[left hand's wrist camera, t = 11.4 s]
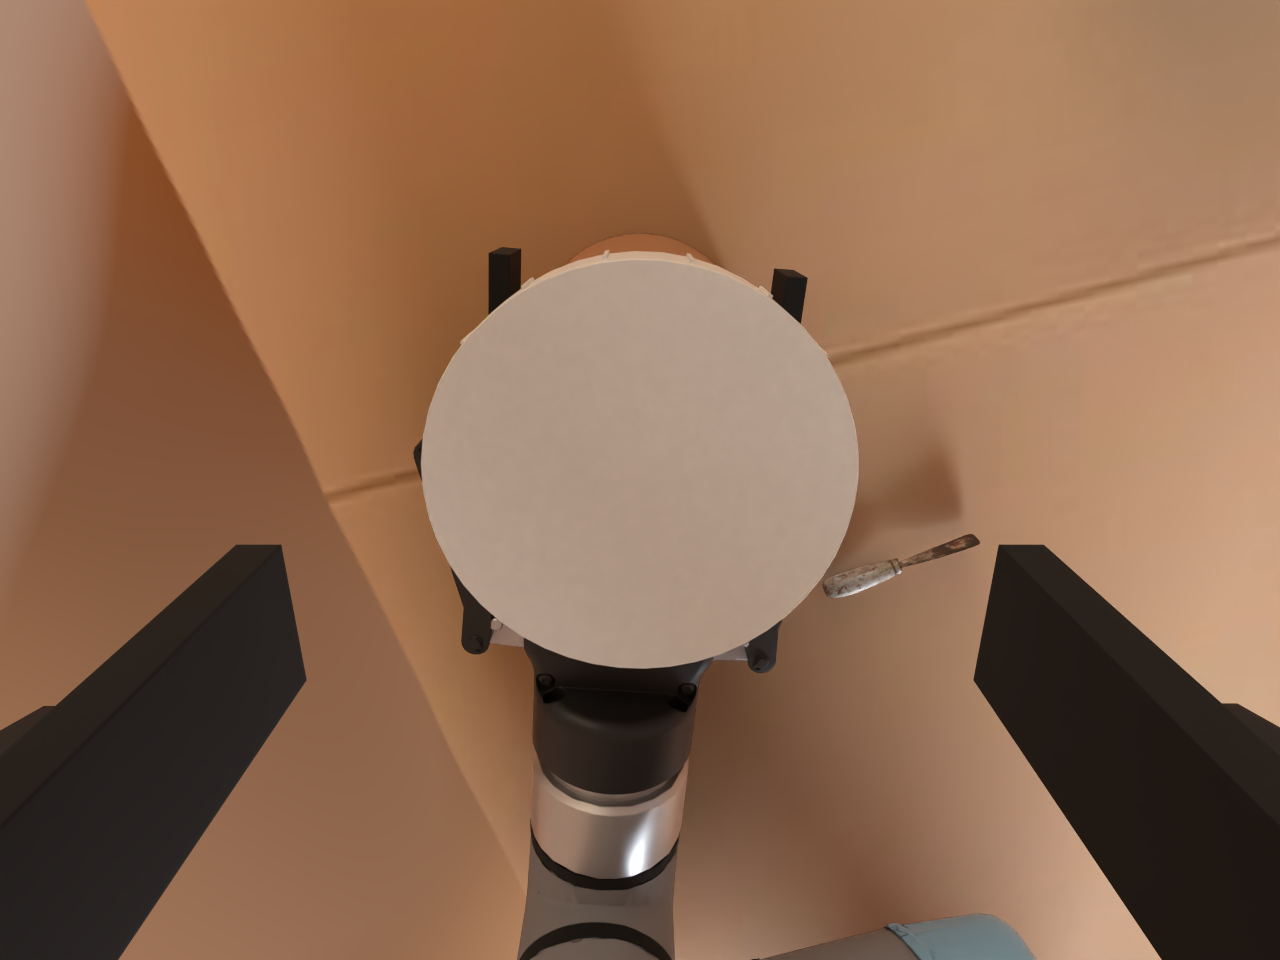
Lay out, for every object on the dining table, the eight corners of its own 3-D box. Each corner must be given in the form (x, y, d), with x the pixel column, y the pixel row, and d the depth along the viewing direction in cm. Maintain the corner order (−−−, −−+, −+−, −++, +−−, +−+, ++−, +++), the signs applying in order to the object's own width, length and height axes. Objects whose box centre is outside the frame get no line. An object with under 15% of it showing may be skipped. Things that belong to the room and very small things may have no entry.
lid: (922, 378, 20) (952, 399, 18) (711, 683, 24) (718, 729, 22) (550, 164, 18) (539, 161, 16) (380, 530, 22) (354, 565, 20)
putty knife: (818, 577, 40) (825, 593, 39) (966, 519, 39) (979, 533, 37) (824, 592, 41) (832, 609, 39) (971, 536, 39) (985, 551, 38)
